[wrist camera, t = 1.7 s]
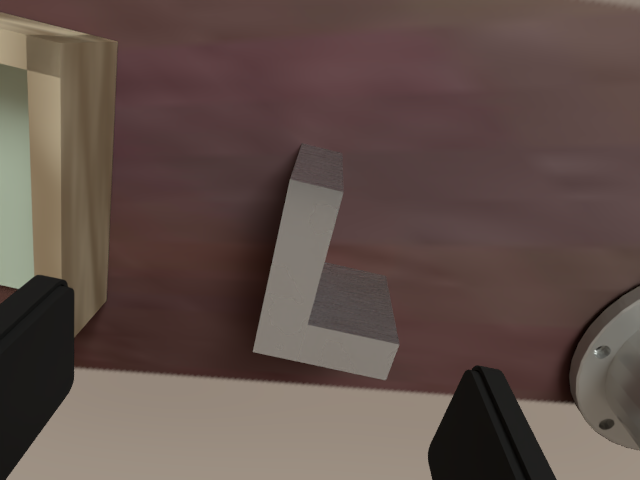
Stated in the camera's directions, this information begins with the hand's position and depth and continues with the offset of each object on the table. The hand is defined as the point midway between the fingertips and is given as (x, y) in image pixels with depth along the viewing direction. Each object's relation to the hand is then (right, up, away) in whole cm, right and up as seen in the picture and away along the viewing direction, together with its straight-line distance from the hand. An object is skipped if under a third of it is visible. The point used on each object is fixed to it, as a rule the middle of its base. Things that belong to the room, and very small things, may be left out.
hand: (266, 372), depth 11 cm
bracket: (+2, +4, +13) cm, 14 cm away
